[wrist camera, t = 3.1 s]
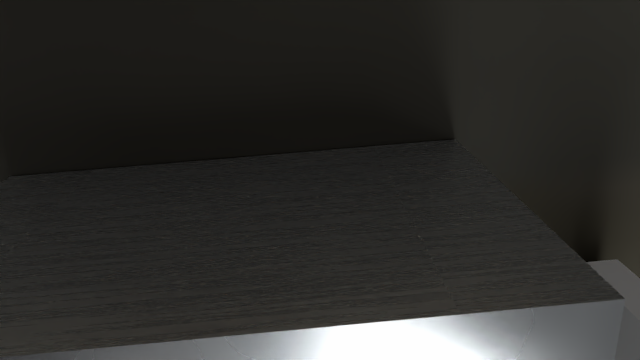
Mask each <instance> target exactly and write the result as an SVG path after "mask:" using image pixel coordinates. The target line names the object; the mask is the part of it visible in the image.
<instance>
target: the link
mask: <svg viewBox="0 0 640 360" xmlns="http://www.w3.org/2000/svg"><path fill="white" fill-rule="evenodd" d="M624 304H625V298H624V297H623V296H622V295H621V294H620V293H618V292H617V291H616V290H615V289H614V288H613V287H612V286H611V285H610V284H609V283H608V282H607V281H606V280H605V279H604V278H602V277H601V276H600V275H599V274H598V273H597V272H596V271H595V270H594V269H593V268H592V267H591V266H590V265H589V264H588V263H587V262H585V261H584V260H583V259H582V258H581V257H580V256H579V255H578V254H577V253H576V252H575V251H574V250H573V249H572V248H571V247H570V246H568V245H567V244H566V243H565V242H564V241H563V240H562V239H561V238H560V237H559V236H558V235H557V234H556V233H555V232H554V231H553V230H551V229H550V228H549V227H548V226H547V225H546V224H545V223H544V222H543V221H542V220H541V219H540V218H539V217H538V216H537V215H536V214H534V213H533V212H532V211H531V210H530V209H529V208H528V207H527V206H526V205H525V204H524V203H523V202H522V201H521V200H520V199H518V198H517V197H516V196H515V195H514V194H513V193H512V192H511V191H510V190H509V189H508V188H507V187H506V186H505V185H504V184H503V183H501V182H500V181H499V180H498V179H497V178H496V177H495V176H494V175H493V174H492V173H491V172H490V171H489V170H488V169H487V168H486V167H484V166H483V165H482V164H481V163H480V162H479V161H478V160H477V159H476V158H475V157H474V156H473V155H472V154H471V153H470V152H469V151H467V150H466V149H465V148H464V147H463V146H462V145H461V144H460V143H459V142H458V141H457V140H456V139H453V140H441V141H429V142H417V143H405V144H393V145H381V146H370V147H358V148H346V149H334V150H322V151H310V152H298V153H286V154H274V155H262V156H250V157H238V158H226V159H214V160H202V161H191V162H179V163H167V164H155V165H143V166H131V167H119V168H107V169H95V170H83V171H71V172H59V173H47V174H35V175H23V176H11V177H8V178H7V179H5V180H4V181H3V182H1V183H0V360H615V355H616V349H617V344H618V338H619V332H620V327H621V321H622V316H623V310H624Z"/></svg>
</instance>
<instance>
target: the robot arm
mask: <svg viewBox="0 0 640 360" xmlns="http://www.w3.org/2000/svg"><path fill="white" fill-rule="evenodd" d="M587 263H588V264H589V265H590V266H591V267H592V268H593V269H594V270H595V271H596V272H597V273H598V274H599V275H600V276H601V277H602V278H604V279H605V280H606V281H607V282H608V283H609V284H610V285H611V286H612V287H613V288H614V289H615V290H616V291H617V292H618V293H620V294H621V295H622V296H623V297H624V298H625V304H624V310H623V316H622V321H621V327H620V332H619V338H618V344H617V349H616V355H615V360H640V278H639V277H638V276H636V275H635V274H634V273H633V272H632V271H630V270H629V269H628V268H627V267H626V266H624V265H623V264H622V263H621V262H620V261H619V260H617V259H616V260H605V261H594V262H587Z"/></svg>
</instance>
